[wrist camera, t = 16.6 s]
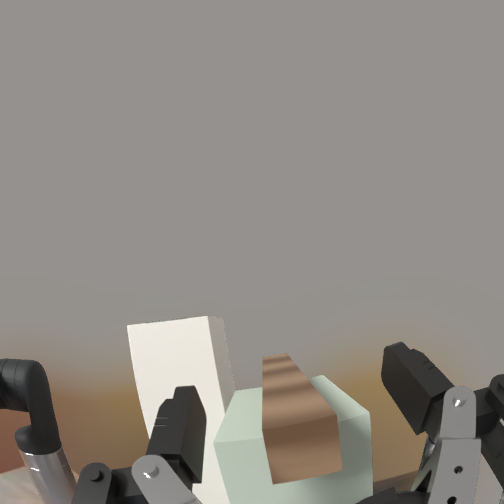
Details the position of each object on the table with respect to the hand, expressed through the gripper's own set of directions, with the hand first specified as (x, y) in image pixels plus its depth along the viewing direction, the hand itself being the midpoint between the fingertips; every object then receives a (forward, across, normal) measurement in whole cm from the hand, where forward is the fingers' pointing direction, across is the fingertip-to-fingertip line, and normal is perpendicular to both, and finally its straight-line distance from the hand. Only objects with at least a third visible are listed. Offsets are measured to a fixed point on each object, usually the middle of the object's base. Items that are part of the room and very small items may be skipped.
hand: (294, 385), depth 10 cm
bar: (+8, 0, +9) cm, 12 cm away
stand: (+5, +12, +41) cm, 43 cm away
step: (-6, 0, +35) cm, 36 cm away
